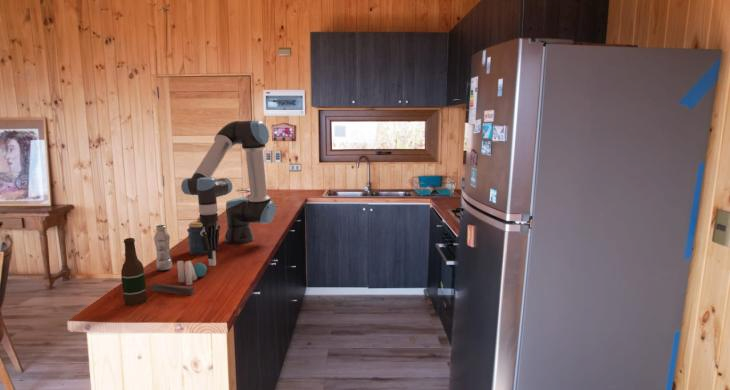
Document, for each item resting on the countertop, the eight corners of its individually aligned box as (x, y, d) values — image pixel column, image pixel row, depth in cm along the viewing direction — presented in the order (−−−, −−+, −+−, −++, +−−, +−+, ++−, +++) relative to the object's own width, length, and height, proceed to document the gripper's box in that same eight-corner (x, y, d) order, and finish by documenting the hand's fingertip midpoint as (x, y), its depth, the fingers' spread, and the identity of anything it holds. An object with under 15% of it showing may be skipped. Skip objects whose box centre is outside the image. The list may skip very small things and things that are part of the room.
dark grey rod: (154, 289, 174) (153, 283, 174) (194, 293, 170) (193, 286, 169) (150, 291, 172) (150, 285, 172) (191, 295, 168) (190, 288, 168)
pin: (188, 282, 181) (186, 262, 179) (193, 283, 180) (192, 263, 179) (184, 284, 179) (183, 264, 177) (190, 285, 178) (188, 265, 177)
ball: (186, 273, 184) (194, 278, 189) (199, 274, 182) (206, 279, 187) (191, 260, 187) (198, 265, 192) (204, 261, 185) (211, 266, 190)
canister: (207, 255, 216) (204, 220, 213) (183, 254, 219) (180, 219, 216) (220, 248, 229) (218, 214, 226) (198, 247, 232) (195, 214, 229)
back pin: (181, 280, 184) (179, 260, 183) (186, 280, 183) (184, 260, 182) (177, 282, 182) (175, 262, 180) (182, 282, 181) (180, 262, 180)
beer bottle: (151, 297, 166) (145, 235, 162) (141, 306, 159) (134, 241, 155) (130, 298, 166) (123, 236, 162) (119, 306, 158) (112, 242, 154)
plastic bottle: (155, 272, 193) (151, 228, 190) (158, 267, 200) (154, 224, 196) (171, 271, 195) (167, 227, 192) (173, 266, 201) (169, 223, 198)
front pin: (193, 276, 186) (186, 260, 182) (198, 276, 185) (191, 260, 181) (190, 280, 184) (183, 264, 180) (195, 280, 183) (188, 264, 179)
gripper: (209, 209, 200) (213, 260, 204) (191, 216, 187) (196, 269, 191) (224, 210, 198) (228, 261, 202) (207, 216, 185) (211, 270, 189)
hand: (212, 265), depth 197 cm, fingers closed
